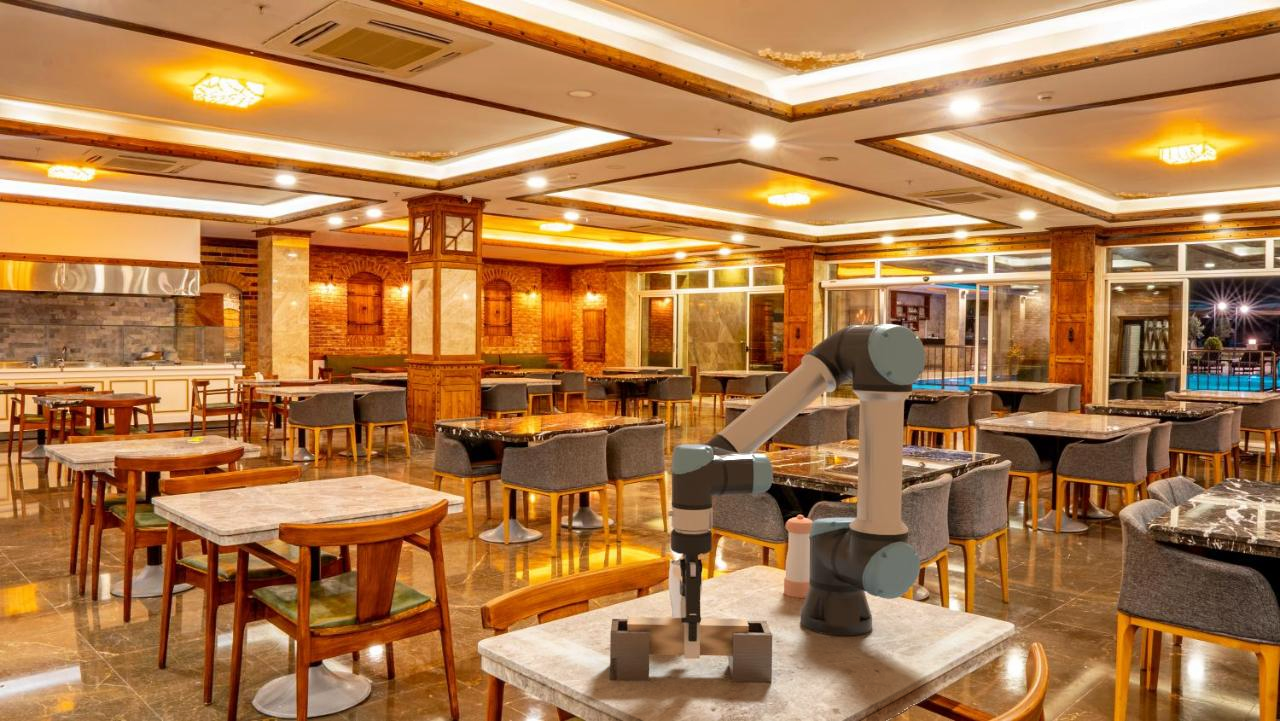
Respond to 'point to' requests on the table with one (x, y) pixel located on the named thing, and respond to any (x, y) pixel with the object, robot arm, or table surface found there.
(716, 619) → the rail
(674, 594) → the shiny metal tumbler
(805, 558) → the pepper shaker
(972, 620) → the table surface
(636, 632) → the brackets
